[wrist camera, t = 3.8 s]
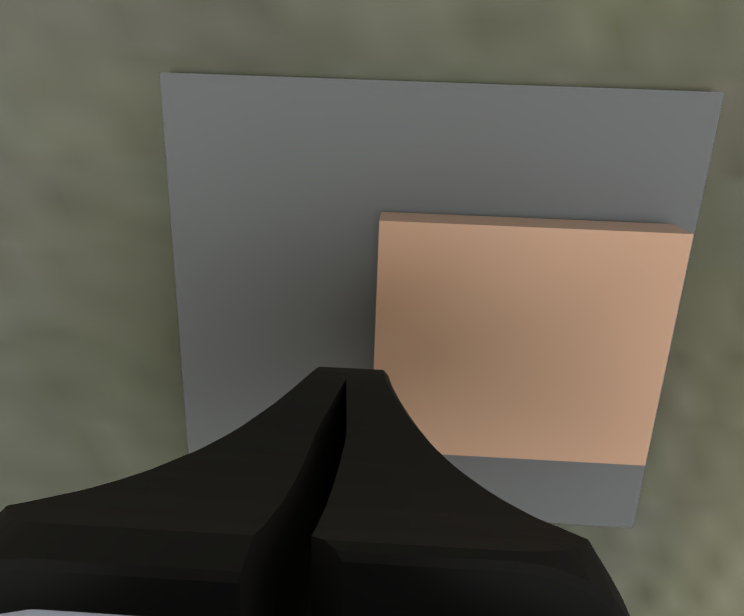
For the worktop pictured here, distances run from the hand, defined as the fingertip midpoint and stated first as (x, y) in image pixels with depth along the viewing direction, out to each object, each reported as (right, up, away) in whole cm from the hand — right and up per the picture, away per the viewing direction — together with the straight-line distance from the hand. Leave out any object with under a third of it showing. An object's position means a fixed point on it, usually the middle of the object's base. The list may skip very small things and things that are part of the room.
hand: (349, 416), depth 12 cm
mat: (+2, +2, +5) cm, 6 cm away
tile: (+1, +1, +4) cm, 4 cm away
